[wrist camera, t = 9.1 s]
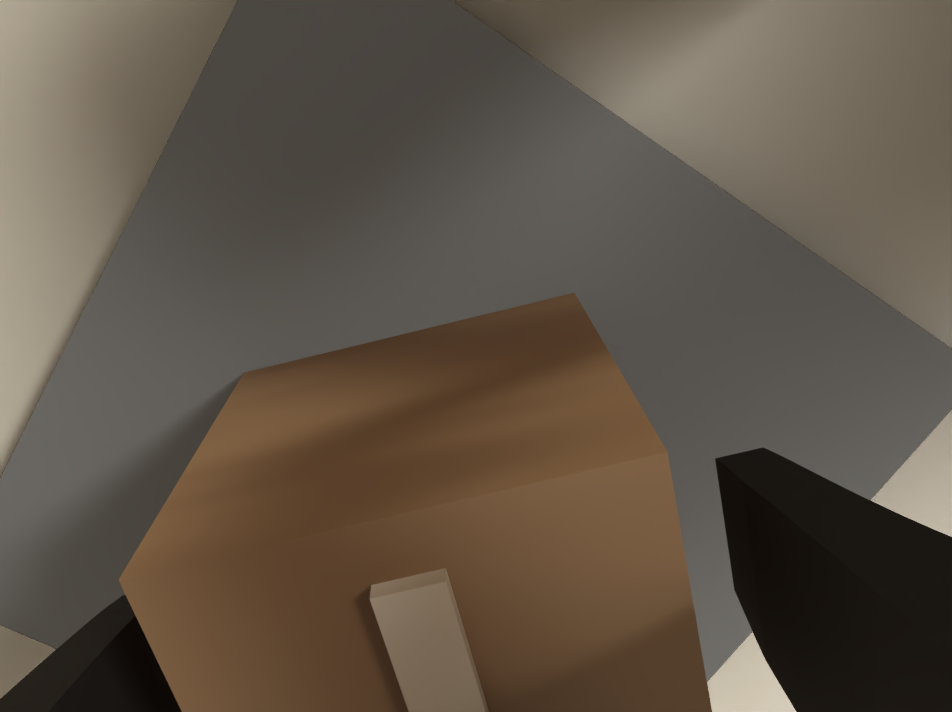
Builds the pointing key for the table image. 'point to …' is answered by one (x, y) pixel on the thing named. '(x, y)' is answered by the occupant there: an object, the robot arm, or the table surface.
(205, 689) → the letter cube
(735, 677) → the table surface
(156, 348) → the mat
